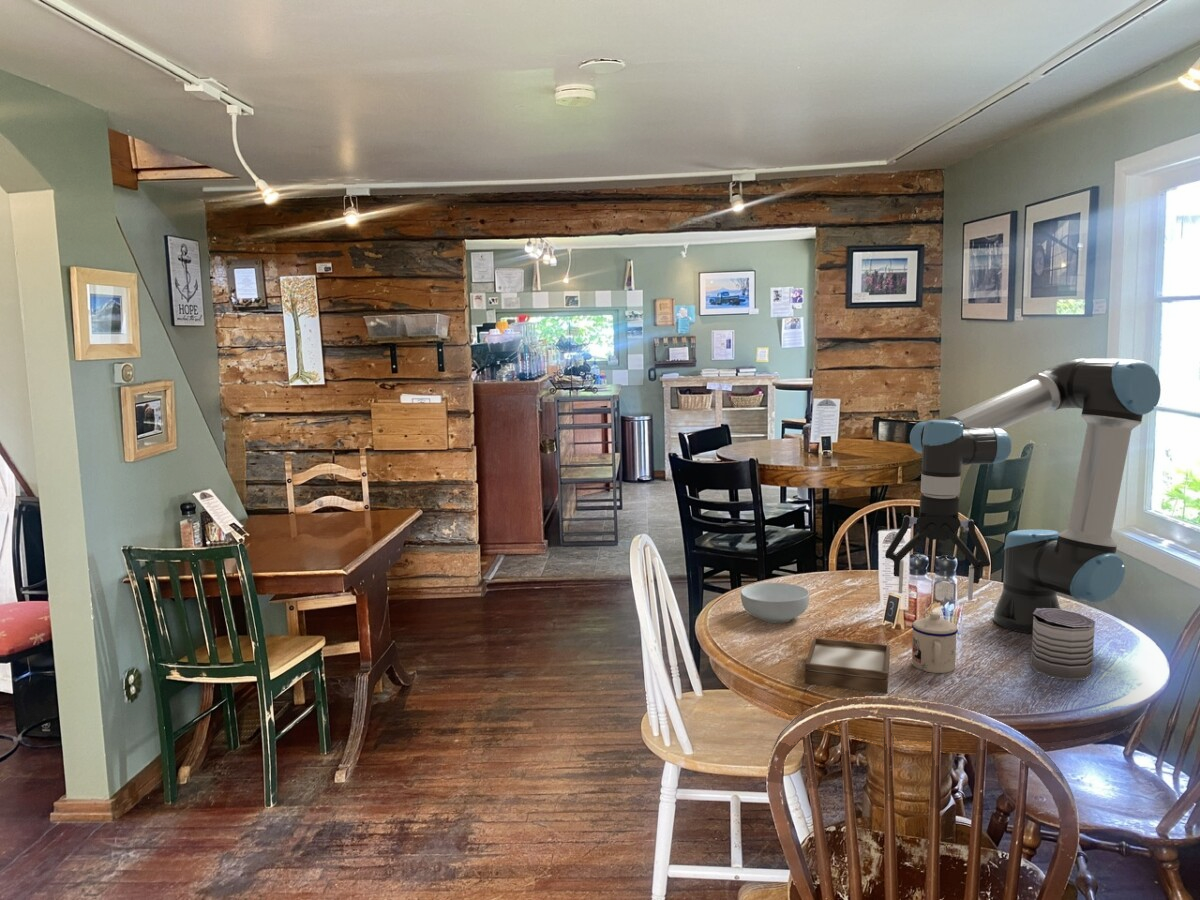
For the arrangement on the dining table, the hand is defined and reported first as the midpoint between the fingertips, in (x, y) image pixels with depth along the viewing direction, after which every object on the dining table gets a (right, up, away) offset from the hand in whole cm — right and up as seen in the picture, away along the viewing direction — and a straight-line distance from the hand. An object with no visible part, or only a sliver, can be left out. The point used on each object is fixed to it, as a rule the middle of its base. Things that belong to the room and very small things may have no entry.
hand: (934, 594), depth 179 cm
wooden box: (-18, -17, +1) cm, 24 cm away
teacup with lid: (+1, -16, +2) cm, 16 cm away
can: (+27, -16, 0) cm, 31 cm away
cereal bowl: (-26, -12, +36) cm, 46 cm away
